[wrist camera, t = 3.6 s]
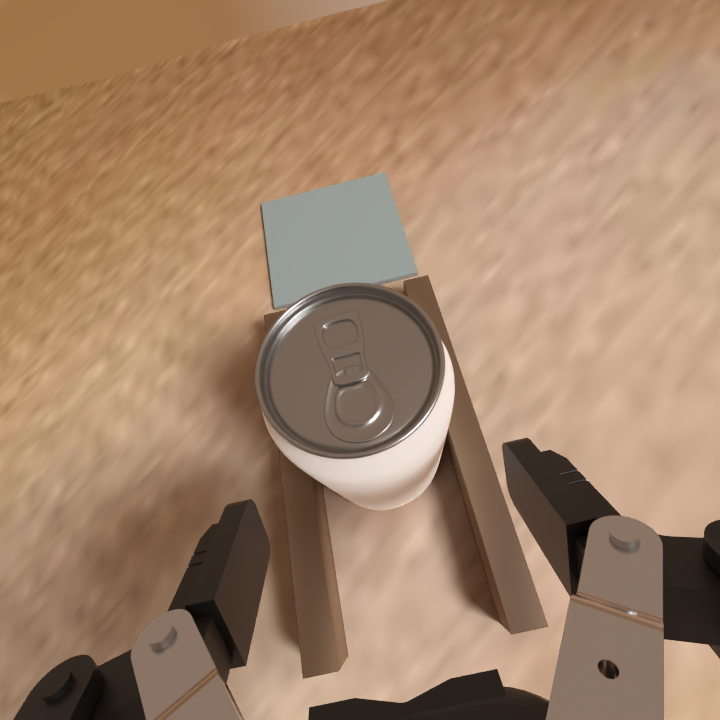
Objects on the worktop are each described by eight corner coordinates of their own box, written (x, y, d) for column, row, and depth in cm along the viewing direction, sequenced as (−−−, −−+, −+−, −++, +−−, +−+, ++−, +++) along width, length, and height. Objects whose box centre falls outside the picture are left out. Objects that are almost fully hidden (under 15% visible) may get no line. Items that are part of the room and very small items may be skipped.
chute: (316, 662, 19) (303, 678, 16) (276, 334, 26) (264, 315, 24) (532, 616, 18) (548, 626, 16) (427, 298, 26) (427, 275, 24)
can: (337, 525, 21) (253, 504, 10) (315, 411, 24) (230, 301, 13) (456, 493, 21) (497, 438, 10) (419, 383, 24) (421, 248, 13)
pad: (275, 309, 27) (273, 307, 27) (262, 206, 32) (261, 203, 31) (417, 274, 27) (417, 272, 27) (384, 175, 31) (384, 172, 31)
